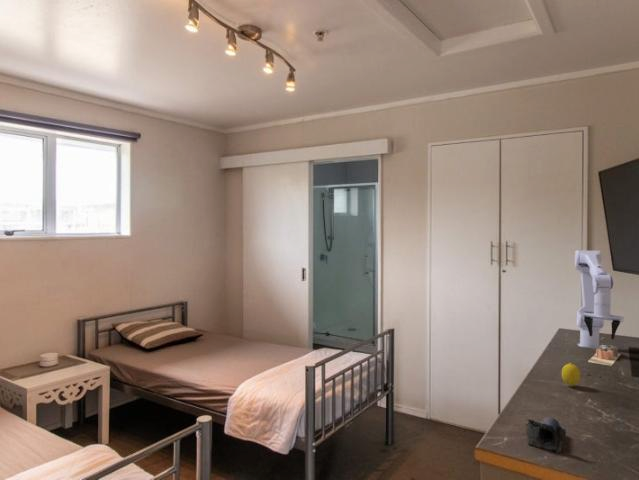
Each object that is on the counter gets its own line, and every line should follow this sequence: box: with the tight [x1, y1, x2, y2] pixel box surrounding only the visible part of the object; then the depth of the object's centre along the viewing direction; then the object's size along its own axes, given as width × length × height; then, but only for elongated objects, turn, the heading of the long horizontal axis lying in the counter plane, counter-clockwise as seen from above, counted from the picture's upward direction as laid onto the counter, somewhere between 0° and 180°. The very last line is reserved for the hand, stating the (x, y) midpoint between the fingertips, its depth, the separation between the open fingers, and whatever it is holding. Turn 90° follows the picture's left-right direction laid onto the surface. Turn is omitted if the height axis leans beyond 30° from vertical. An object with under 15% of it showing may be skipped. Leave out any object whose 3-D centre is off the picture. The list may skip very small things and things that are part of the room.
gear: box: [595, 349, 613, 360], centre depth 184 cm, size 6×6×3 cm
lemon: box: [561, 362, 581, 387], centre depth 155 cm, size 6×6×8 cm
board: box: [587, 344, 621, 367], centre depth 184 cm, size 21×8×5 cm, turn 139°
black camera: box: [525, 416, 567, 453], centre depth 116 cm, size 9×8×12 cm
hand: (601, 337), depth 186 cm, fingers open, 7 cm apart
